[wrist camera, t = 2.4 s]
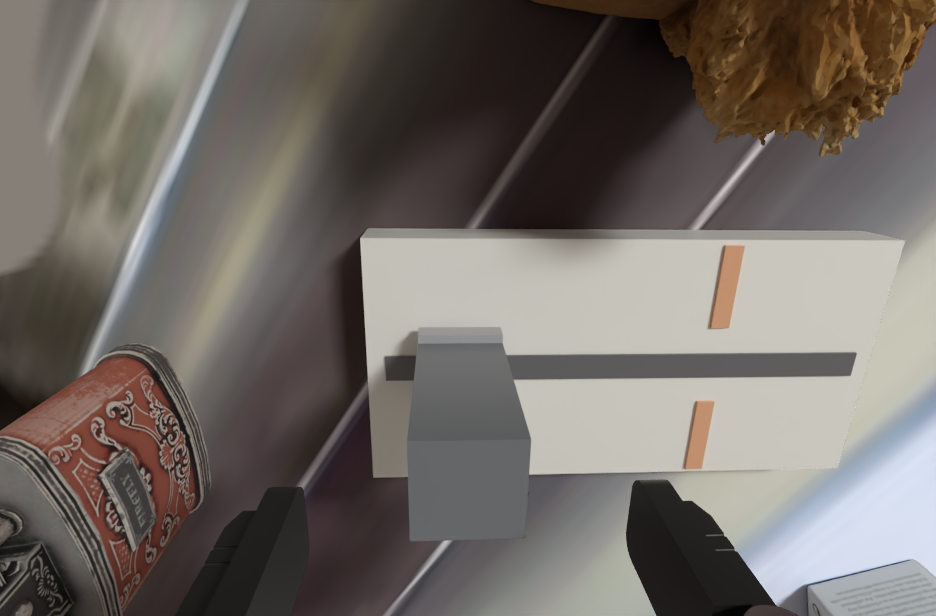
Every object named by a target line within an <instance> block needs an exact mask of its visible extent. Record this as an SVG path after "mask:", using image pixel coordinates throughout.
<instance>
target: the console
mask: <svg viewBox="0 0 936 616" xmlns="http://www.w3.org/2000/svg"><path fill="white" fill-rule="evenodd" d="M904 242H905V240H901V239H896V238H892V237H887V236H883V235H878V234H874V233H870V232H865V231H792V230H601V229H411V228H368V229H367V230H366V231H365V233H364V234H363V235H362V236H361V238H360V246H361V264H362V282H363V300H364V318H365V336H366V354H367V372H368V390H369V408H370V426H371V444H372V462H373V478H383V477H408V461H407V436H408V427H409V418H410V409H411V400H412V391H413V382H414V373H415V364H416V355H417V346H418V328H419V327H501V330H502V334H503V346H504V349H505V353H506V356H507V359H508V363H509V366H510V369H511V373H512V376H513V380H514V383H515V386H516V390H517V393H518V396H519V400H520V403H521V406H522V410H523V413H524V416H525V420H526V423H527V427H528V430H529V433H530V437H531V452H530V468H529V474H578V473H626V472H675V471H724V470H772V469H821V468H838V464H839V461H840V458H841V454H842V451H843V448H844V444H845V441H846V437H847V434H848V431H849V427H850V424H851V421H852V417H853V414H854V411H855V407H856V404H857V400H858V397H859V394H860V390H861V387H862V384H863V380H864V377H865V374H866V370H867V367H868V363H869V360H870V357H871V353H872V350H873V347H874V343H875V340H876V337H877V333H878V330H879V326H880V323H881V320H882V316H883V313H884V310H885V306H886V303H887V300H888V296H889V293H890V289H891V286H892V283H893V279H894V276H895V273H896V269H897V266H898V263H899V259H900V256H901V252H902V249H903V246H904Z"/></svg>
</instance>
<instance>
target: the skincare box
mask: <svg viewBox="0 0 936 616" xmlns="http://www.w3.org/2000/svg"><path fill="white" fill-rule="evenodd" d="M807 593H808V615H809V616H936V577H935V576H934V575H933V574H932V573H930V572H929V571H928V570H927V569H926V568H925V567H924V566H922V565H921V564H920V563H919V562H917V561H916V560H909V561H905V562H902V563H898V564H894V565H890V566H886V567H882V568H878V569H874V570H870V571H866V572H862V573H858V574H854V575H850V576H846V577H842V578H838V579H834V580H830V581H826V582H822V583H818V584H814V585H810V586H808V588H807Z"/></svg>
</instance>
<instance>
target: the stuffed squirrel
mask: <svg viewBox="0 0 936 616" xmlns="http://www.w3.org/2000/svg"><path fill="white" fill-rule="evenodd" d="M531 1H533V2H536V3H540V4H544V5H550V6H556V7H563V8H568V9H575V10H581V11H586V12H590V13H596V14H605V15H616V16H621V17H633V18H645V19H656V20H659V27H660V28H661V35H662V37H663V40H665V43H666V44H667V46H668V47H669V51H670V52H673V56H674V57H675V58H677V57H679V56H681V55H683V56H686V59H687V61H688V63H689V65H690V66H691V69H690V70H691V71H692V73H693V75H692V76H693V77H694V79H693V82H692V89H695V90H696V93H695V94H696V99H695V102H696V103H697V104H698V105H700V106H701V107H702V108H704V109H705V110H704V117H707V119H708V121H707V122H712V123H713V124H714V125H716V126H717V127H719V131H718V133H717V136H716V138H715V140H714V143H715V144H716V143H718V142H720V141H721V140H723V139H725V138H727V137H730V136H732V135H733V134H734V135H735V137H738V136H739V135H745V134H746V133H749V134H751V135H752V136H753V137H759V139H760V140H761V144H762V145H763V146H764V145H765V140H764V138H765V137H766V134H769V133H771V132H772V131H773V130H775V132H776V133H775V135H779V134H782V133H785V132H786V133H785V135H784V139H786V137H787V136H788V135H789V132H790V131H795V130H800V131H801V132H802V133H806V134H807V136H808V138H809V139H810V137H812V139H813V140H815V141H816V140H817V139H818V137H819V136H820V134H821V131H822V126H825V127H826V129H825V131H824V132H823V136H824V140H823V143H822V144H821V147H820V151H819V157H821V156H823V155H824V154H827V153H829V154H832V155H839V154H840V153H841V151H842V147H841V145H839V144H840V142H841V141H842V140H843V139H845V138H846V137H848V136H849V135H851V136H852V138H853V139H855V138H857V137H858V136H859V134H858V129H859V126H860V124H861V123H862V122H863V121H865V120H867V121H870V122H873V121H874V118H875V117H879V118H881V117H882V116H883V115H884V109H883V107H885V106H886V103H887V100H888V98H889V97H890V96H891V95H892V96H893V95H898V93H899V92H900V91H901V89H902V88H901V84H902V77H903V75H904V70H908V69H909V68H911V67H912V66H913V64H914V62H915V60H916V58H917V55H918V52H919V50H920V48H921V47H922V40H923V39H924V38H925V32H926V31H927V30H928V29H929V28H930V27H931V26H932V25H934V24H935V23H936V0H531Z"/></svg>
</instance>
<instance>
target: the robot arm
mask: <svg viewBox="0 0 936 616" xmlns="http://www.w3.org/2000/svg"><path fill="white" fill-rule="evenodd" d="M626 540H627V547H628V552H629V555H630V558H631V561H632V563H633V565H634V567H635V569H636V572H637V574H638V576H639V578H640V580H641V583H642V585H643V587H644V589H645V591H646V594H647V596H648V598H649V600H650V602H651V604H652V607H653V609H654V611H655V613H656V615H657V616H798V615H797V614H795V613H793V612H791V611H789V610H786V609H783V608H780V607H777V606H776V605H775V603H774V602H773V601H772V599H771V598H770V596H769V595H768V594H767V592H766V591H765V590H764V588H763V587H762V585H761V584H760V583H759V581H758V580H757V578H756V577H755V576H754V574H753V573H752V572H751V570H750V569H749V567H748V566H747V565H746V563H745V562H744V561H743V559H742V558H741V556H740V555H739V554H738V552H735V550H734V547H733V545H732V544H731V543H730V541H729V540H728V539H727V537H724V533H723V532H722V530H721V529H720V528H719V526H718V525H717V523H716V522H715V521H714V519H713V518H712V516H711V515H709V514H708V513H707V512H705V511H704V510H703V509H701V508H700V507H699V506H698V505H696V504H695V503H694V502H692V501H682V499H681V498H680V497H679V495H678V494H677V492H676V491H675V489H674V488H673V486H672V485H671V483H670V482H669V481H668V480H636V481H635V482H634V483H633V486H632V493H631V500H630V508H629V515H628V522H627V530H626ZM308 551H309V536H308V526H307V517H306V508H305V498H304V491H303V488H302V487H272V488H268V489H267V491H266V492H265V494H264V496H263V498H262V500H261V502H260V504H259V506H258V508H257V510H256V511H242V512H241V513H240V514H239V515H238V516H237V517H236V518H235V519H234V520H232V521H231V522H230V523H229V524H228V525H227V526H226V527H225V528H224V530H223V531H222V533H221V535H220V537H219V538H218V540H217V542H216V544H215V546H214V550H212V551H211V553H210V555H209V556H208V558H207V560H206V562H205V566H204V567H202V569H201V571H200V572H199V574H198V576H197V578H196V579H195V581H194V583H193V585H192V587H191V588H190V590H189V592H188V594H187V596H186V597H185V599H184V601H183V603H182V604H181V606H180V608H179V610H178V612H177V613H176V615H175V616H291V613H292V610H293V606H294V603H295V600H296V597H297V594H298V591H299V588H300V584H301V581H302V578H303V575H304V572H305V568H306V565H307V559H308Z"/></svg>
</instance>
